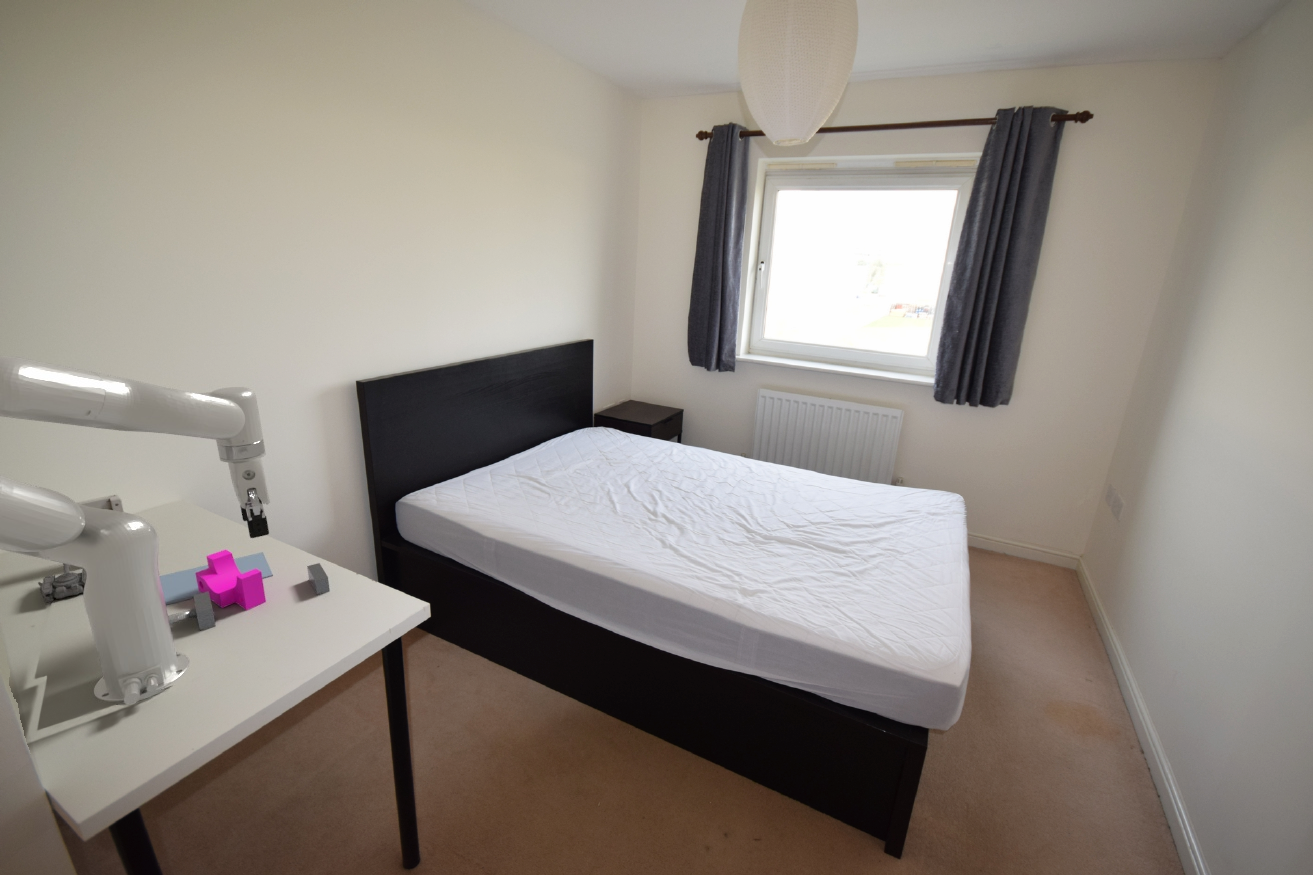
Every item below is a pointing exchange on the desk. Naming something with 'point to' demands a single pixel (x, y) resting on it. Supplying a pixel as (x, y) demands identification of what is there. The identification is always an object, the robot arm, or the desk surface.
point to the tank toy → (63, 584)
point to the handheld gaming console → (105, 503)
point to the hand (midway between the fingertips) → (255, 527)
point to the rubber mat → (185, 581)
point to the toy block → (230, 582)
